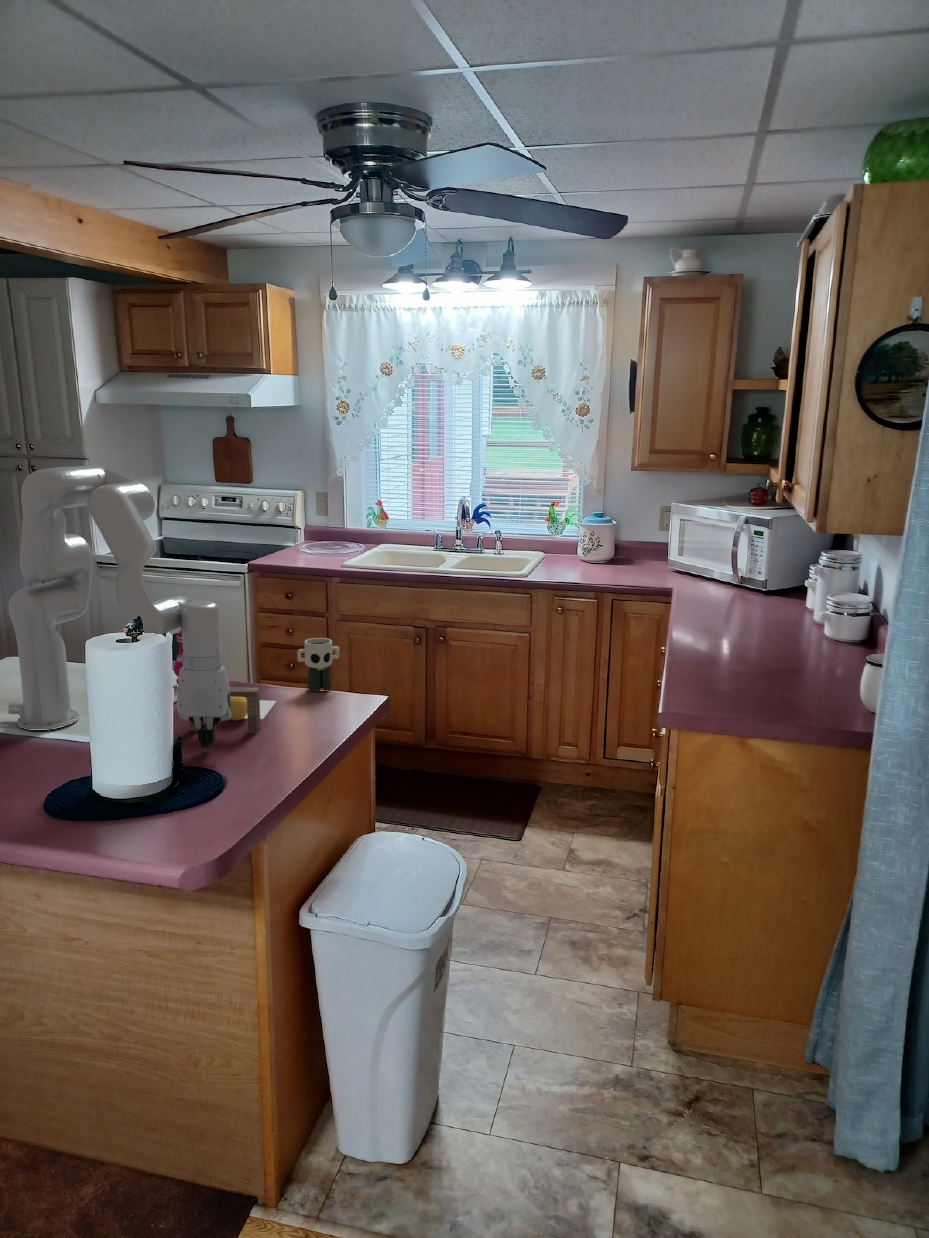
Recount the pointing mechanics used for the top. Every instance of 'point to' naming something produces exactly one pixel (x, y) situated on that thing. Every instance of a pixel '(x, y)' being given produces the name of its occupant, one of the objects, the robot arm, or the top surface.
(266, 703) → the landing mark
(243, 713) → the ball
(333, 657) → the character mug
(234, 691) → the bridge
